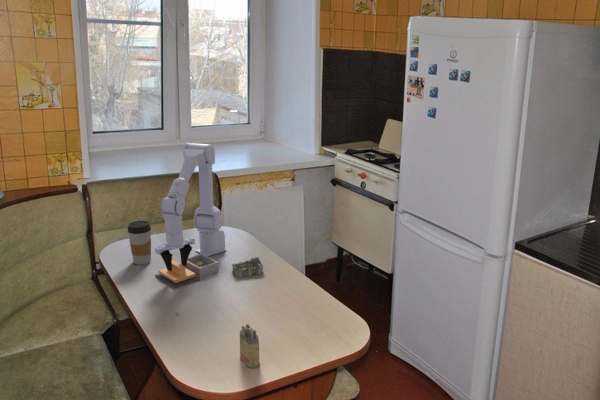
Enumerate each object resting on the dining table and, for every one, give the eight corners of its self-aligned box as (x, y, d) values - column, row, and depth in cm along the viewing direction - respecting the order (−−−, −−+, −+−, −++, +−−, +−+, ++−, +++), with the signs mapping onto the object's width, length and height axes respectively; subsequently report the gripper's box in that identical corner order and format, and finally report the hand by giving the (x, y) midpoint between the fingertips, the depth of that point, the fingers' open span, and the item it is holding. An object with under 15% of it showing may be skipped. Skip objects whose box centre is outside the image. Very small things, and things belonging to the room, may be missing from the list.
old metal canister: (237, 356, 154) (236, 323, 150) (250, 352, 156) (249, 319, 152) (250, 369, 148) (249, 335, 145) (263, 365, 150) (262, 331, 147)
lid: (178, 268, 207) (177, 256, 205) (195, 278, 199) (194, 265, 197) (159, 275, 201) (158, 262, 200) (175, 285, 194) (174, 272, 192)
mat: (179, 268, 208) (179, 267, 208) (199, 279, 199) (199, 278, 199) (155, 276, 201) (155, 275, 201) (174, 288, 192) (174, 287, 192)
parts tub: (201, 262, 213) (201, 253, 212) (218, 271, 206) (218, 262, 205) (183, 268, 208) (182, 259, 207) (200, 277, 201) (199, 268, 200)
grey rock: (260, 266, 210) (259, 256, 209) (264, 275, 204) (264, 264, 202) (231, 269, 208) (230, 259, 206) (234, 278, 201) (234, 267, 200)
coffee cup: (150, 266, 210) (147, 228, 205) (127, 266, 210) (123, 227, 205) (156, 257, 218) (153, 220, 213) (134, 257, 218) (131, 220, 213)
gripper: (161, 239, 187) (164, 277, 191) (198, 229, 197) (200, 265, 201) (150, 234, 192) (153, 270, 196) (187, 223, 202) (189, 259, 206)
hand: (176, 267), depth 199 cm, fingers open, 5 cm apart
